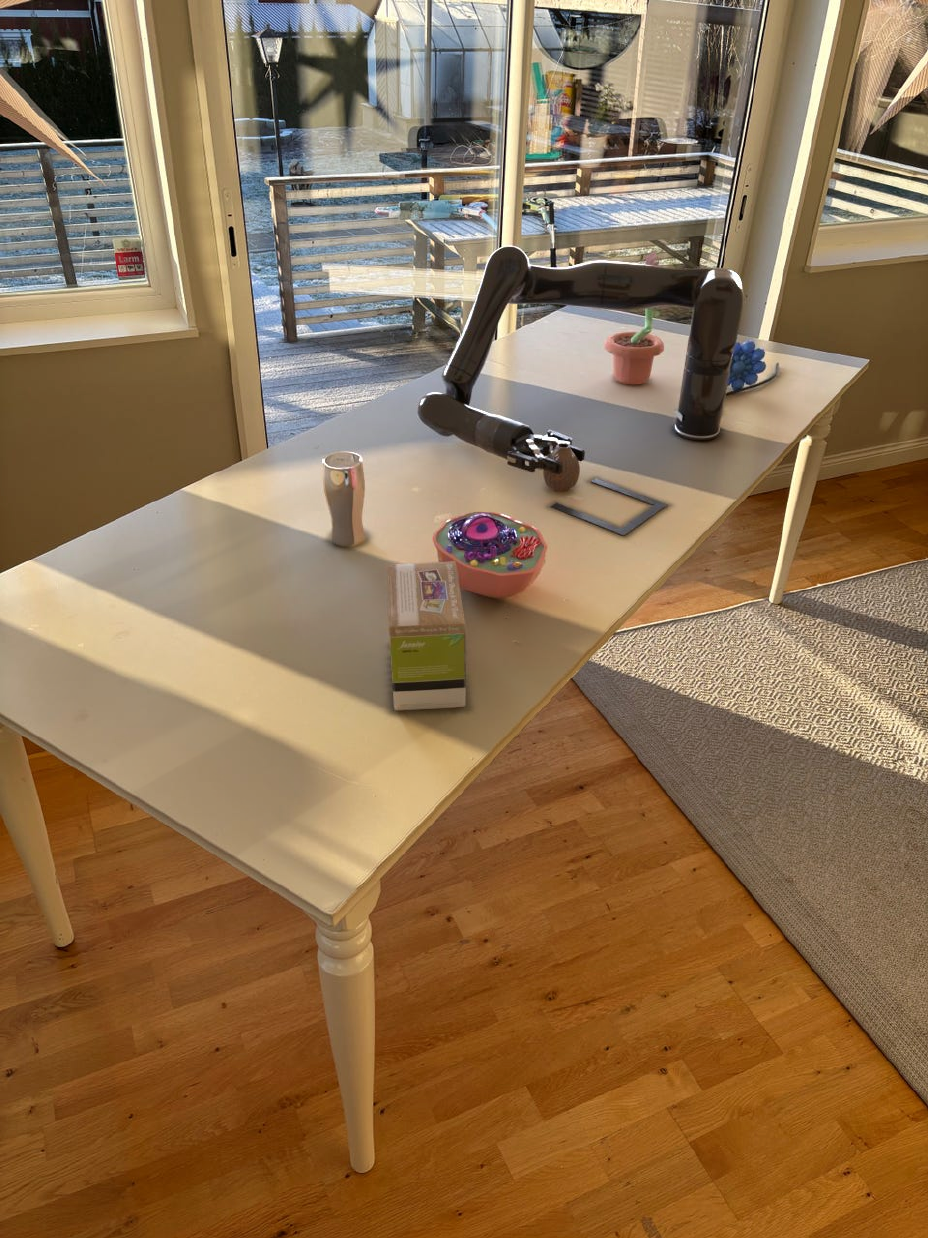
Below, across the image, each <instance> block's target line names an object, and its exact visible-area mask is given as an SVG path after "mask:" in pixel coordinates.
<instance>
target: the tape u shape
mask: <svg viewBox="0 0 928 1238" xmlns="http://www.w3.org/2000/svg"><path fill="white" fill-rule="evenodd" d="M590 483H591V484H594V485H597V486H600V487H603V488H605V489H608V490H611V491H614V492H616V493H619V494H621V495H624V496H627V497H630V498H632V499H635V500H638V501H640V502H643V503H646V504H648V505H651V507H649V508H648V509H646V510H645V511H644V512H642V513H641V514H639V515H638V516H636V517H635V518H633V519H632V520H630V521H629V522H628V523H626V524H625V525H623V526H622V527H619V526H617V525H614V524H611V523H609V522H607V521H604V520H601V519H599V518H596V517H594V516H592V515H590V514H589V515H588V514H586V513H583V512H581V511H579V510H576V509H574V508H571V507H568V506H566V505H564V504H561V503H558V502H555V503H554V504H552V505H550V508H551V509H555V510H557V511H559V512H562V513H565V514H567V515H569V516H572V517H574V518H577V519H579V520H582V521H584V522H587V523H589V524H592V525H594V526H596V527H599V528H602V529H604V530H607V531H610V532H612V533H615V534H618V535H619V536H622V537H625V536H627V535H628V534H629V533H631V532H632V531H633V530H635V529H636V528H638V527H639V526H641V525H642V524H643V523H645V522H646V521H648V520H649V519H651V518H652V517H653V516H655V515H656V514H658V513H659V512H660V511H662V510H663V509H664V508H666V507H667V506H669V504H668V503H665V502H662V501H660V500H657V499H654V498H651V497H650V496H649V497H648V496H645V495H643V494H640V493H638V492H635V491H632V490H631V489H627V488H624V487H622V486H619V485H616V484H613V483H611V482H608V481H605V480H602V479H601V478H600V479H599V478H597V477H596V478H594V479H592V480H591V481H590Z"/></svg>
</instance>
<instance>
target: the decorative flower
mask: <svg viewBox="0 0 928 1238" xmlns="http://www.w3.org/2000/svg"><path fill="white" fill-rule="evenodd" d="M657 251H658V250H657V249H655V250H652V251H651V252H650V253H649V255H648V256H647V258H646V260H645V262H644V265H652V266H659V264H660V261H659V260H657V259H658V258H659V256H658V255H656V253H657ZM656 260H657V261H656ZM638 264H642V265H643V263H642V262H639V263H638ZM636 311H637V310H633V311H632V312H633V313H635V312H636ZM644 311H645V315H644V316H645V317H644V327H643V328H642V329H641V330H639V331H622V332H616V333H613V334H611V335H609V336H608V337H607V338H606V340H605V342H604V350H605V351H606V352H607V353H609V354H612V376H613V379H614V380H615V381H617V382H619V383H621V384H626V385H641V384H645V383H646V382H647V381H649V379H650V377H651V373H652V368H653V364H654V358H655V357H657V356H659V355H661V354H662V353H663V352H664V351H665V343H664V341H663V339H662V338H660V337H659V336H658V335H655V334H652V333H651V332H652V331H653V327H654V326H653V323H654V322H653V321H654V318H658V317H660V312H659V311H658V310H654V307H653V308H647V309H644Z"/></svg>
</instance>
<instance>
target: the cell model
mask: <svg viewBox="0 0 928 1238" xmlns="http://www.w3.org/2000/svg"><path fill="white" fill-rule="evenodd" d="M432 543H433V545H434V547H435V549H436V553H437V560H438V561H437V562H449V561H455V562H456V566H457V572H458V579H459V586H460V590H463V591H467V592H471V593H474V594H477V595H480V596H484V597H488V598H490V599H495V600H502V599H507V598H510V597H513V596H516V595H518V594H521V593H523V592H524V591H526V589H527V588H529V587H530V586H532V585H533V584H534V582H535V581H536V580H537V579H538V576H539V575H540V574H541V571H542V569H543V567H544V565H545V563H546V553H547V551H548V545H547V542H546V541H545V539H544V537H543V534H542V532H541V531H540V529H538V528H537V527H535V526H532V525H529V524H527V523H525V522H522V521H519V520H517V519H515V518H513V517H511V516H509V515H507V514H503V513H498V512H492V511H474V512H467V513H464V514H461V515H459V516H455V517H452V518H450V519H448V520H446V521H444V523H443V524H442V525H441V526H440V527H439V528H438V529H437V530H435V532H434V533H433V535H432Z"/></svg>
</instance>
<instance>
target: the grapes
mask: <svg viewBox="0 0 928 1238" xmlns="http://www.w3.org/2000/svg"><path fill="white" fill-rule="evenodd" d="M765 356H766V351H765V349H764V348H762V347H757V348H756V344H755V342H754V341H752V340H746V341H745V342H743V344H741V343H740V342H737V341H736V344H735V347H734V352H733V357H732V362H731V368H730V374H729V379H728V385H727V387H729V386H730V387H731V389H732V391H734V390H737V389H740V388H743V387H745V385H746V386H751V385H754V384H757V383H758V380H759V375H760V374H761V373H764V371H765V370H766V368H767V364H766V362H765V361H764V360H763V359H764V358H765Z"/></svg>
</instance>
